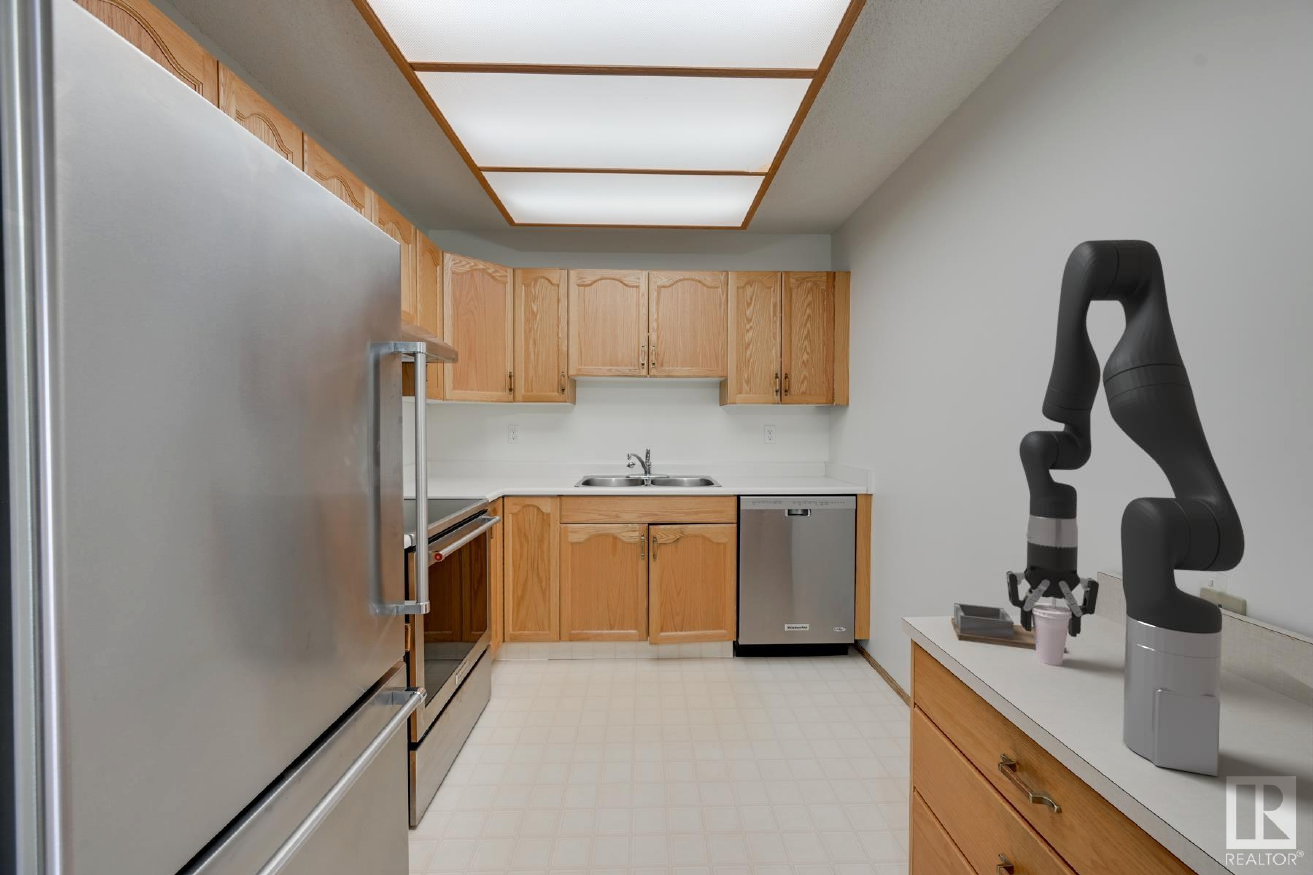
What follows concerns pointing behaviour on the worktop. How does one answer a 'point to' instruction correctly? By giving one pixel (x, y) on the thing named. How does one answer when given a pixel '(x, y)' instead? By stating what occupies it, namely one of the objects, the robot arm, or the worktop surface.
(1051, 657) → the smoothie
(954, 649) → the worktop surface
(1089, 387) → the robot arm
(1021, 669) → the worktop surface
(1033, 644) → the caddy
